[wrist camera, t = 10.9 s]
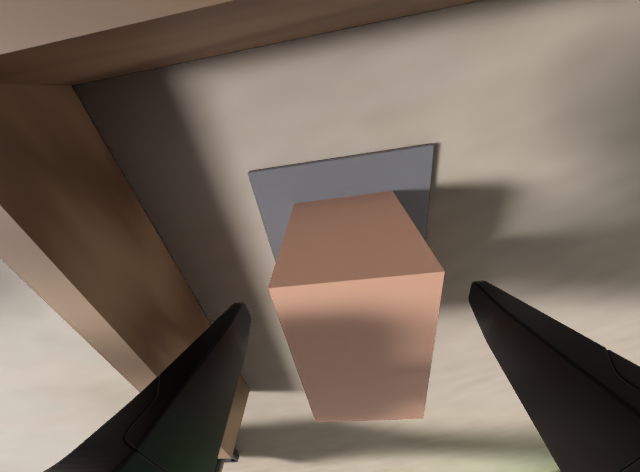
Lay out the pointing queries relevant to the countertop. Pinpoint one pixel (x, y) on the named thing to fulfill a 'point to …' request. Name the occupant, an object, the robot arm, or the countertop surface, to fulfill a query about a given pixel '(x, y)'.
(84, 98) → the countertop surface
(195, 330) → the wooden corner wall
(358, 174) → the mat
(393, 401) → the block
